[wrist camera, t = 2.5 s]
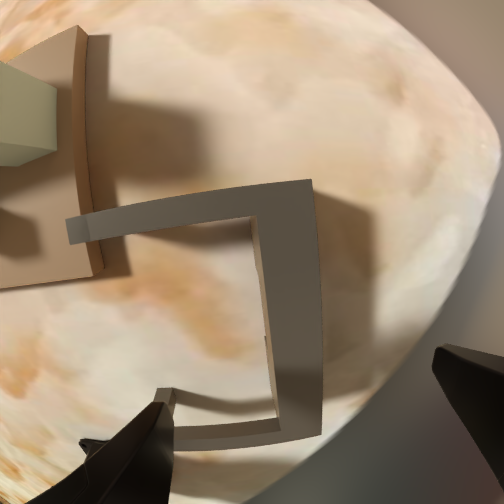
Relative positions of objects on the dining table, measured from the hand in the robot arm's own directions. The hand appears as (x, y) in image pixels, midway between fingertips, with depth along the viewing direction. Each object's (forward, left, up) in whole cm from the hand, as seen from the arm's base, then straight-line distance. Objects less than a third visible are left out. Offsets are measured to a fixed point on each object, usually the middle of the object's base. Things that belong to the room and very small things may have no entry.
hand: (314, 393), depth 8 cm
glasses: (0, +3, -7) cm, 8 cm away
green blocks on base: (+10, +17, -8) cm, 21 cm away
